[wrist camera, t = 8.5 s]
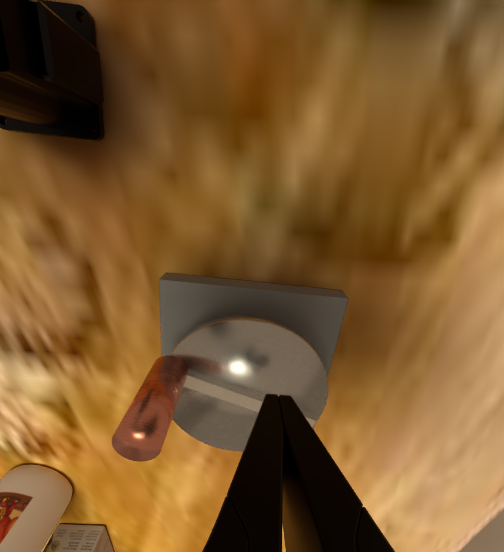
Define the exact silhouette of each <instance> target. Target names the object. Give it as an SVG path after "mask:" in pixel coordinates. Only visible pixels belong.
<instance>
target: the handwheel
mask: <svg viewBox="0 0 504 552" xmlns="http://www.w3.org/2000/svg"><path fill="white" fill-rule="evenodd" d="M266 394H277V395H278V396H279V395H290V396H291V397H292V398H293V399H294V401H295V402H296V404H297V405H298V407H299V408H300V410H301V412H302V413H303V415H304V416H305V418H306V419H307V421H308V422H309V424H310V425H311V427H312V426H313V425H314V424H315V422H316V421H317V420H318V418H319V417H320V415H321V414H322V412H323V409H324V407H325V405H326V401H327V397H328V380H327V376H326V372H325V369H324V366H323V364H322V361H321V359H320V356H319V354H318V352H317V351H316V349H315V348H314V346H313V345H312V344H311V343H310V341H309V340H308V339H307V338H306V337H305V336H303V335H302V334H301V333H300V332H299V331H297V330H296V329H294V328H293V327H291V326H289V325H287V324H285V323H283V322H281V321H278V320H275V319H272V318H269V317H265V316H260V315H251V314H234V315H227V316H222V317H218V318H214V319H211V320H209V321H206V322H204V323H202V324H200V325H198V326H196V327H195V328H193V329H192V330H190V331H189V332H188V333H186V334H185V335H184V336H183V337H182V338H181V339H180V340H179V341H178V343H177V344H176V345H175V347H174V348H173V350H172V352H171V354H170V355H166V356H162V357H160V358H158V359H157V360H156V361H155V363H154V364H153V366H152V368H151V370H150V371H149V373H148V375H147V377H146V378H145V380H144V382H143V384H142V386H141V387H140V389H139V391H138V393H137V394H136V396H135V398H134V400H133V401H132V403H131V405H130V407H129V409H128V410H127V412H126V414H125V416H124V417H123V419H122V421H121V423H120V424H119V426H118V428H117V430H116V432H115V433H114V435H113V437H112V445H113V448H114V449H115V451H116V452H117V453H118V454H120V455H121V456H123V457H125V458H127V459H129V460H133V461H148V460H151V459H154V458H155V457H157V456H158V455H159V453H160V451H161V448H162V446H163V443H164V440H165V437H166V434H167V432H168V429H169V426H170V423H171V420H172V419H173V420H174V421H175V422H176V423H177V425H178V426H179V427H180V428H181V429H183V430H184V431H185V432H186V433H188V434H189V435H191V436H192V437H194V438H195V439H197V440H199V441H201V442H203V443H205V444H208V445H211V446H213V447H217V448H221V449H225V450H231V451H241V452H243V451H244V449H245V446H246V444H247V441H248V439H249V436H250V433H251V431H252V428H253V426H254V423H255V421H256V418H257V415H258V413H259V410H260V408H261V405H262V403H263V400H264V397H265V395H266Z"/></svg>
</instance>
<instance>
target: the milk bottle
mask: <svg viewBox="0 0 504 552" xmlns="http://www.w3.org/2000/svg"><path fill="white" fill-rule="evenodd" d="M72 491H73V490H72V486H71V484H70V482H69V481H68V480H67V479H66V478H65V477H64V476H63V475H61V474H60V473H58V472H57V471H55V470H53V469H50V468H47V467H44V466H40V465H21V466H18V467H15V468H14V469H12V470H11V471H9V472H8V473H6V474H5V475H4V477H3V478H2V479H1V480H0V552H41V551H42V549H43V547H44V545H45V544H46V542H47V540H48V539H49V537H50V535H51V534H52V532H53V530H54V528H55V527H56V525H57V523H58V521H59V520H60V518H61V516H62V515H63V513H64V511H65V509H66V508H67V506H68V504H69V502H70V500H71V497H72Z"/></svg>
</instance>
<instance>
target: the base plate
mask: <svg viewBox="0 0 504 552" xmlns="http://www.w3.org/2000/svg"><path fill="white" fill-rule="evenodd" d="M159 288H160V322H161V356H166V355H170V354H171V352H172V350H173V348H174V347H175V345H176V344H177V343H178V341H179V340H180V339H181V338H182V337H183V336H184V335H185V334H186V333H188V332H189V331H190V330H192V329H193V328H195V327H196V326H198V325H200V324H202V323H204V322H206V321H209V320H211V319H214V318H218V317H222V316H227V315H234V314H251V315H260V316H265V317H269V318H272V319H275V320H278V321H281V322H283V323H285V324H287V325H289V326H291V327H293V328H294V329H296V330H297V331H299V332H300V333H301V334H302V335H303V336H305V337H306V338H307V339H308V340H309V341H310V343H311V344H312V345H313V346H314V348H315V349H316V351H317V352H318V354H319V356H320V359H321V361H322V364H323V366H324V369H325V372H326V376H327V377H328V373H329V370H330V366H331V362H332V358H333V355H334V351H335V347H336V343H337V340H338V336H339V332H340V328H341V325H342V321H343V317H344V314H345V310H346V306H347V302H348V297H347V296H346V295H345V294H344V292H343V291H342V290H333V289H323V288H313V287H303V286H293V285H283V284H274V283H264V282H254V281H244V280H234V279H225V278H215V277H205V276H195V275H185V274H175V273H165V274H164V275H163V276H162V277H161V278H160V279H159ZM172 420H173V419H172ZM314 426H315V424H314V425H313V426H312V428H313V429H314Z"/></svg>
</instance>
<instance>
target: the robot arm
mask: <svg viewBox="0 0 504 552" xmlns="http://www.w3.org/2000/svg"><path fill="white" fill-rule="evenodd" d="M82 16H85V21H84V22H83V23H81V21H80V19H81V17H82ZM102 103H103V90H102V79H101V68H100V56H99V52H98V51H97V50H96V39H95V29H94V21H93V17H92V16H91V14H90V13H89V12H88V11H87V10H86V9H85V8H84V7H83V6H80V5H76V4H68V3H60V2H52V1H44V0H0V128H2V129H5V130H9V131H16V132H25V133H34V134H42V135H51V136H60V137H69V138H77V139H86V140H95V141H100V140H102V139H103V137H104V126H103V115H102ZM5 119H7V124H6V123H5ZM93 128H96V131H97V132H96V134H95V135H94V134H93V132H92V130H93ZM362 506H363V504H362V502H361V501H360V499H359V498H358V496H357V495H356V493H355V492H354V490H353V489H352V487H351V486H350V484H349V483H348V481H347V480H346V478H345V477H344V475H343V474H342V472H341V470H340V469H339V467H338V466H337V464H336V463H335V461H334V460H333V458H332V457H331V455H330V454H329V452H328V451H327V449H326V448H325V446H324V445H323V443H322V442H321V440H320V439H319V437H318V436H317V434H316V433H315V431H314V430H313V428H312V427H311V425H310V424H309V422H308V421H307V419H306V418H305V416H304V415H303V413H302V412H301V410H300V408H299V407H298V405H297V404H296V402H295V401H294V399H293V398H292V397H291V396H290V395H279V396H278V395H277V394H266V395H265V397H264V400H263V403H262V405H261V408H260V410H259V413H258V415H257V418H256V421H255V423H254V426H253V428H252V431H251V433H250V436H249V439H248V441H247V444H246V446H245V449H244V451H243V454H242V457H241V459H240V462H239V464H238V467H237V470H236V472H235V475H234V477H233V480H232V482H231V485H230V488H229V490H228V493H227V497H225V500H224V502H223V505H222V508H221V510H220V513H219V515H218V518H217V520H216V522H215V525H214V527H213V529H212V532H211V534H210V537H209V539H208V541H207V543H206V545H205V547H204V549H203V551H202V552H282V523H283V531H284V539H285V547H286V552H395V551H394V549H393V548H392V547H391V545H390V544H389V542H388V541H387V539H386V538H385V536H384V535H383V533H382V532H381V531H380V529H379V528H378V526H377V525H376V523H375V522H374V520H373V519H372V517H371V516H370V514H369V513H368V511H367V510H366V508H365V507H362Z"/></svg>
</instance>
